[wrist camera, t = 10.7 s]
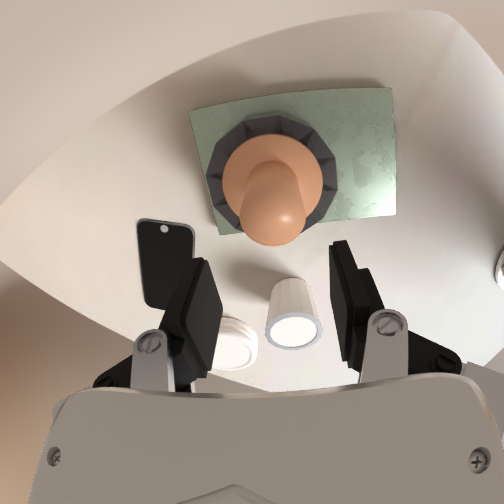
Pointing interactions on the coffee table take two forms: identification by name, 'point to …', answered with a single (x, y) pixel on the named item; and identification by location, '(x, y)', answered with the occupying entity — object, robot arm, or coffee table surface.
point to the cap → (272, 187)
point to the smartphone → (163, 258)
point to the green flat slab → (310, 147)
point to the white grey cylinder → (293, 316)
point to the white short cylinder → (235, 345)
